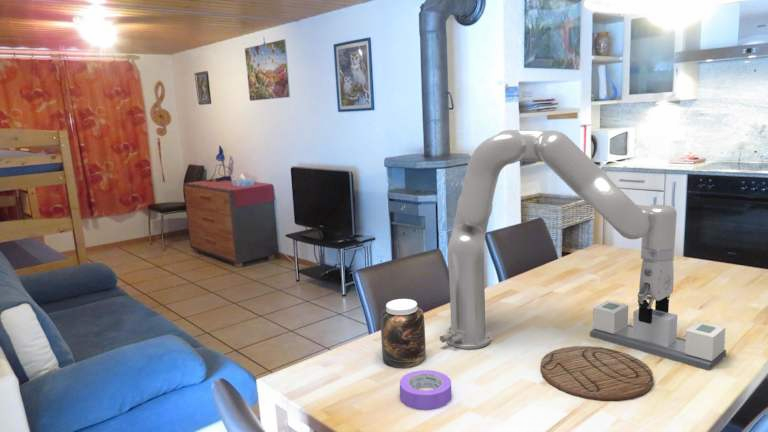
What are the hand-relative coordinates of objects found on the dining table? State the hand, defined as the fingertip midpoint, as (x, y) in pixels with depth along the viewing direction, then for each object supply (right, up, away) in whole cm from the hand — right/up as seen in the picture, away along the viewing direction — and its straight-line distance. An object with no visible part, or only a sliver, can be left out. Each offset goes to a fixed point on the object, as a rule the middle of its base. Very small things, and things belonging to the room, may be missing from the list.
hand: (653, 317), depth 141 cm
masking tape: (-61, -15, -18) cm, 65 cm away
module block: (+1, -6, +1) cm, 6 cm away
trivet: (-20, -12, -12) cm, 26 cm away
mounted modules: (+1, -6, +1) cm, 6 cm away
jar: (-65, -11, +2) cm, 66 cm away
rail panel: (+1, -8, +1) cm, 8 cm away
